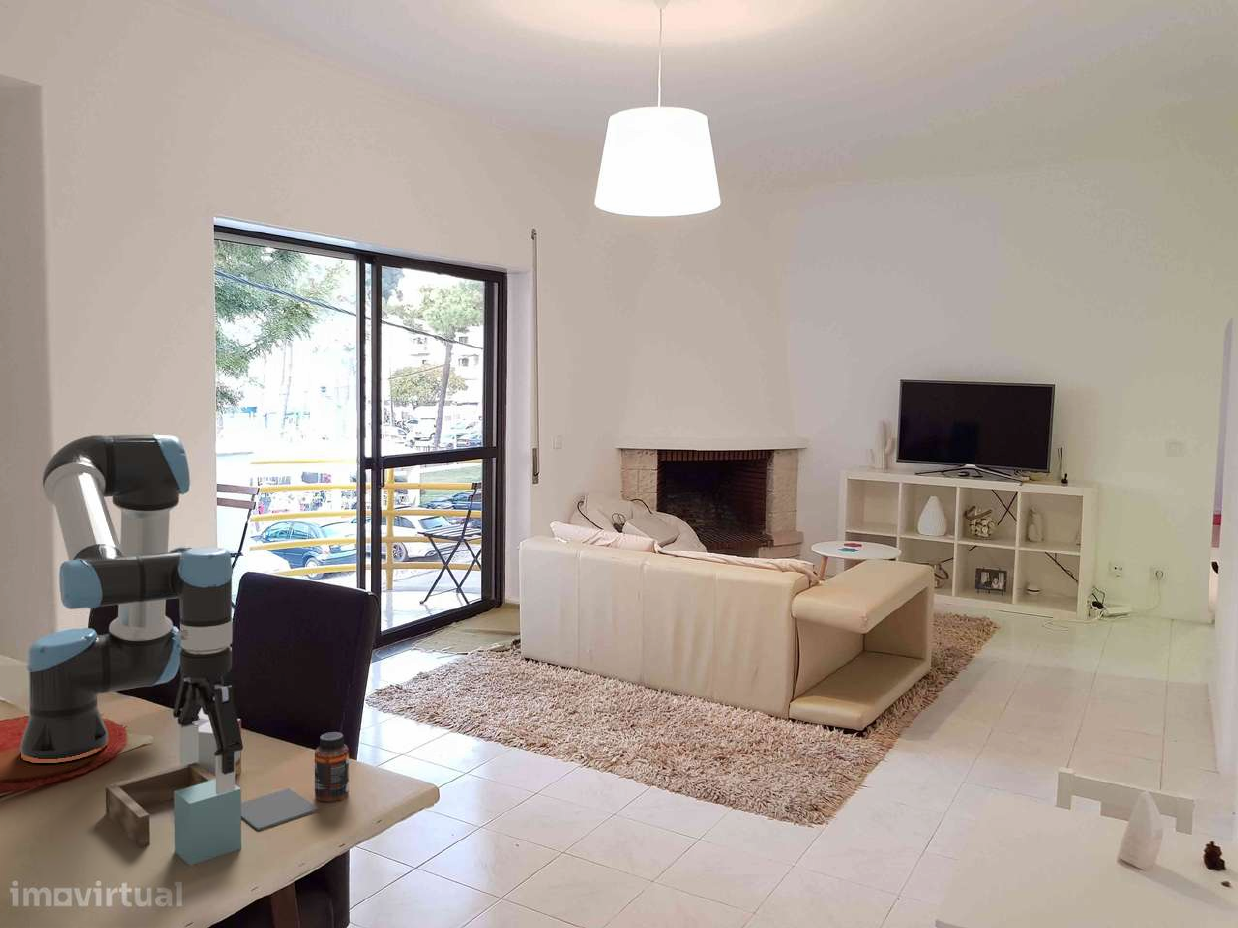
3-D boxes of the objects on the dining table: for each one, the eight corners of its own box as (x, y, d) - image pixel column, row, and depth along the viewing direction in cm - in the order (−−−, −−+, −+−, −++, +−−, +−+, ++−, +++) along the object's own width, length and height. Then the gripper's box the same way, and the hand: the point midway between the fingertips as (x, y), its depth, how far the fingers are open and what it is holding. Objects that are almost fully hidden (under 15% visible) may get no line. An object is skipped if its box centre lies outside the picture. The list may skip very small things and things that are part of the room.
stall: (106, 813, 160) (105, 785, 160) (195, 788, 171) (194, 761, 171) (139, 846, 150) (139, 816, 149) (232, 817, 160) (232, 789, 160)
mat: (229, 808, 163) (229, 806, 163) (288, 789, 171) (288, 787, 171) (258, 830, 156) (258, 828, 156) (318, 810, 164) (318, 807, 164)
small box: (216, 789, 171) (215, 733, 170) (189, 785, 172) (188, 730, 171) (242, 771, 179) (242, 718, 178) (216, 768, 180) (215, 715, 179)
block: (174, 851, 149) (174, 791, 148) (224, 834, 154) (224, 776, 153) (190, 865, 144) (189, 803, 144) (241, 848, 150) (240, 788, 149)
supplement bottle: (356, 793, 171) (356, 733, 170) (333, 806, 166) (333, 744, 165) (330, 786, 174) (330, 727, 172) (307, 798, 168) (307, 738, 167)
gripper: (150, 633, 152) (152, 758, 154) (216, 672, 135) (216, 812, 137) (197, 625, 158) (198, 746, 160) (266, 661, 141) (265, 796, 143)
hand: (206, 777), depth 149 cm, fingers open, 13 cm apart
